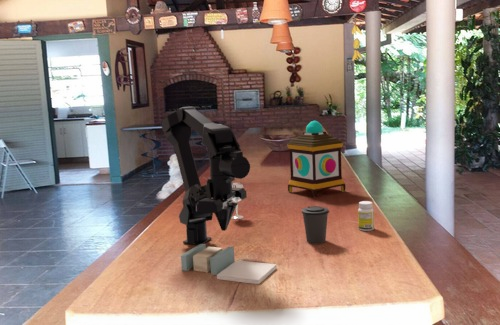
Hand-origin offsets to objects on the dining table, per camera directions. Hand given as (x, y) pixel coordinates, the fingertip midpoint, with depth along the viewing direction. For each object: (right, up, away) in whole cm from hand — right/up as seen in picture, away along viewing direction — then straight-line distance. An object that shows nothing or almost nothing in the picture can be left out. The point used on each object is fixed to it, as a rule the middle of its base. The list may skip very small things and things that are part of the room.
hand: (224, 230), depth 143 cm
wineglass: (+3, -1, +41) cm, 41 cm away
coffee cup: (+26, -5, +9) cm, 28 cm away
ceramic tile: (+6, -9, -14) cm, 18 cm away
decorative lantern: (+35, +6, +77) cm, 85 cm away
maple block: (-4, -8, -8) cm, 12 cm away
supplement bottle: (+43, -2, +19) cm, 47 cm away
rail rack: (-4, -8, -8) cm, 12 cm away
